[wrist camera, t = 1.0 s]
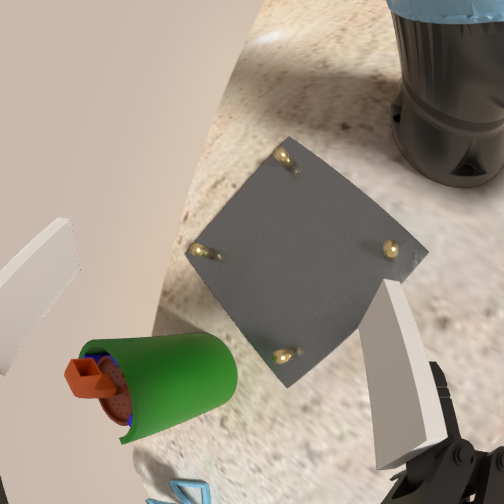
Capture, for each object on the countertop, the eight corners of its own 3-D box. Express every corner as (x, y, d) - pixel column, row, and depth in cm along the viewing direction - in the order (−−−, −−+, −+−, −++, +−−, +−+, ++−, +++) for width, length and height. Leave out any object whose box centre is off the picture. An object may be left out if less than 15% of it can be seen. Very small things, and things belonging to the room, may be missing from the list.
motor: (168, 370, 38) (38, 386, 20) (191, 318, 37) (50, 313, 20) (220, 415, 33) (88, 467, 15) (251, 361, 32) (106, 398, 15)
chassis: (293, 142, 35) (279, 123, 31) (427, 254, 26) (432, 245, 22) (191, 256, 39) (169, 250, 35) (291, 385, 30) (276, 395, 26)
